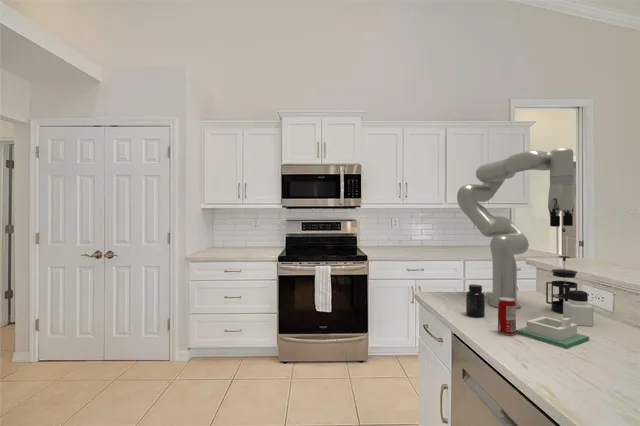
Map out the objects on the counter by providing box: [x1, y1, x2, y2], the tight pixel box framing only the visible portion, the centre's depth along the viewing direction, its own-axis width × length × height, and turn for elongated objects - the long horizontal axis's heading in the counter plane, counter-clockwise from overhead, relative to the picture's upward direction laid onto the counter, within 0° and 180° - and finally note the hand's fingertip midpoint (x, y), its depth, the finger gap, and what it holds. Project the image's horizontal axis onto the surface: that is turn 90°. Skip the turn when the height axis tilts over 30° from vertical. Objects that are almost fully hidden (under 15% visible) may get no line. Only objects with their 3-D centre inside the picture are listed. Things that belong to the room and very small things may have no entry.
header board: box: [515, 316, 590, 349], centre depth 122 cm, size 16×14×7 cm
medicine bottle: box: [562, 289, 594, 327], centre depth 137 cm, size 7×7×12 cm
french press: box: [545, 255, 578, 315], centre depth 152 cm, size 12×9×23 cm
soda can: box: [497, 297, 517, 336], centre depth 126 cm, size 6×6×12 cm
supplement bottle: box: [465, 283, 486, 319], centre depth 147 cm, size 7×7×12 cm
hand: (561, 226), depth 140 cm, fingers open, 9 cm apart
